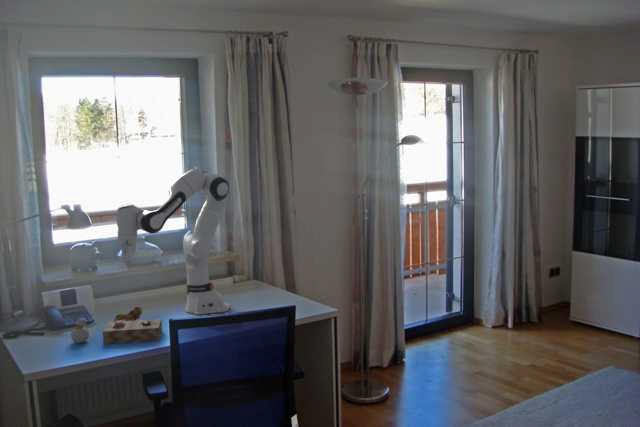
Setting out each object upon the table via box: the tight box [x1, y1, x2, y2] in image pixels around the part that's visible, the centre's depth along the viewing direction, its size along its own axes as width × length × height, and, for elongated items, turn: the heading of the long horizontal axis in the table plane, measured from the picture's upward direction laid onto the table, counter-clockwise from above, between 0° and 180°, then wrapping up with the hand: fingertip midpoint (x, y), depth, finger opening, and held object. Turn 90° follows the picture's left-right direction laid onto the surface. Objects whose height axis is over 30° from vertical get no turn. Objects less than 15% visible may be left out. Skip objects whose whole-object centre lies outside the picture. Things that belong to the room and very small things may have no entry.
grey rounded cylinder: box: [113, 320, 125, 328], centre depth 298 cm, size 4×4×6 cm
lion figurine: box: [113, 305, 143, 322], centre depth 317 cm, size 15×5×9 cm, turn 118°
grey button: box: [141, 321, 152, 326], centre depth 300 cm, size 4×4×6 cm
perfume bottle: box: [70, 316, 90, 344], centre depth 294 cm, size 8×10×12 cm
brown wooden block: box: [102, 318, 163, 346], centre depth 299 cm, size 24×14×6 cm, turn 98°
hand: (129, 268), depth 310 cm, fingers closed
